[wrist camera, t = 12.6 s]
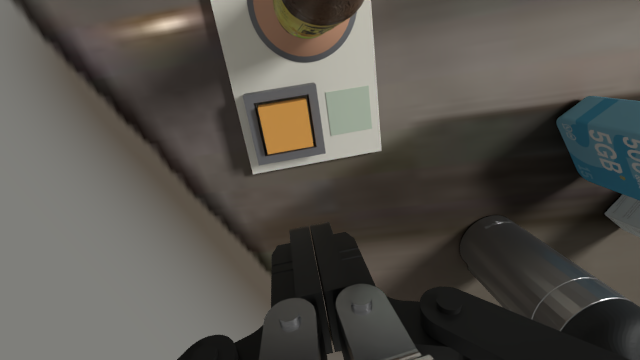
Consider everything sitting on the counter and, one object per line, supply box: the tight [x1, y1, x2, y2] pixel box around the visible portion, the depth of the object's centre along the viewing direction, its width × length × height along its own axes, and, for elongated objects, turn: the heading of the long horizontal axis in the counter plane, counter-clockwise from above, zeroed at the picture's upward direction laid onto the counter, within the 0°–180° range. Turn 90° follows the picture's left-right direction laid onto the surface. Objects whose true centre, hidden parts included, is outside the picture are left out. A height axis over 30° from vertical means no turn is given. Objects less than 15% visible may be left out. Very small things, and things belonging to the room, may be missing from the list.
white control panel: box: [210, 0, 381, 174], centre depth 32 cm, size 24×16×4 cm, turn 8°
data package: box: [556, 96, 640, 201], centre depth 37 cm, size 12×4×12 cm, turn 39°
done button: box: [258, 97, 314, 154], centre depth 33 cm, size 5×5×2 cm
